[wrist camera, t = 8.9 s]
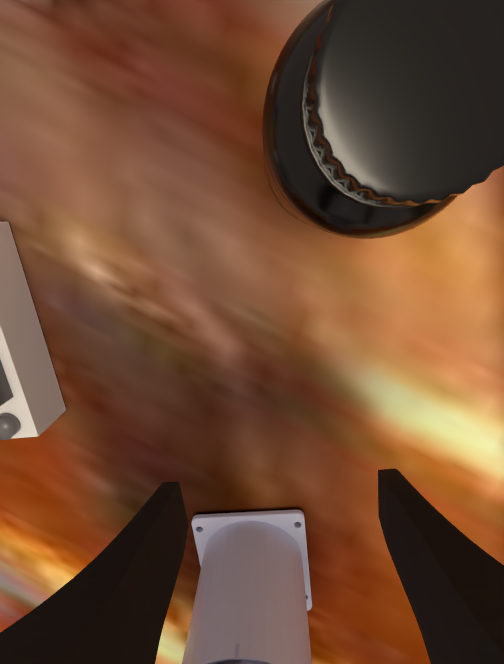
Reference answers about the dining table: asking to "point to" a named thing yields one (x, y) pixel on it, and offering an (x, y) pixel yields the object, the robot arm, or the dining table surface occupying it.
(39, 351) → the camera body
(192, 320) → the dining table surface
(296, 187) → the supplement bottle
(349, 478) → the dining table surface
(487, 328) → the dining table surface
